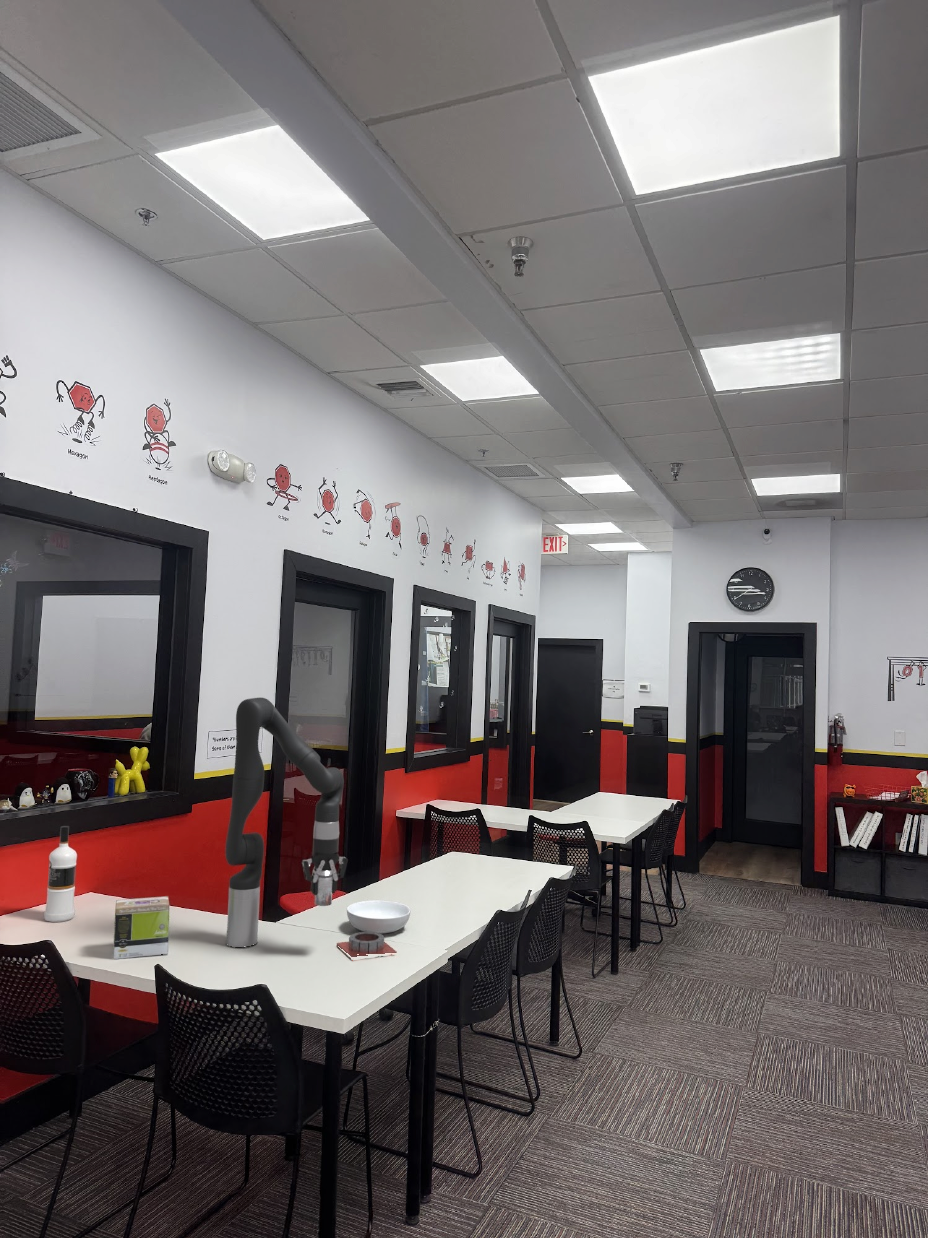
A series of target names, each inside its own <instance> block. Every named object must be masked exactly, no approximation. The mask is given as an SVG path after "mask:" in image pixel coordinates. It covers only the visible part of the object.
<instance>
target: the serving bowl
mask: <svg viewBox="0 0 928 1238" xmlns="http://www.w3.org/2000/svg"><path fill="white" fill-rule="evenodd" d="M346 914H347V915H346V916H347V919H348V920H349V922H350V924H351V926H353V927H354V928H356V929H357V930H359V931H361V932H375V933H379V934H382V935H384V934H387V933H393V932H396V931H399V930H400V929H402V928H403V927H405V926H406V924H407V923H408V921H409V919H410V916H411V908H410V907H409V906H408V905H406V904H404V903H401V902H396V901H391V900H379V899H378V900H377V899H376V900H375V899H374V900H363V901H359V902H354V903H351V904H350V905H348V906H347V908H346Z"/></svg>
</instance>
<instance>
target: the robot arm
mask: <svg viewBox="0 0 928 1238" xmlns="http://www.w3.org/2000/svg"><path fill="white" fill-rule="evenodd" d="M261 728H262V729H264V730H265V731H267V732H268V733H269V734H271V735H272V736H273V737H274V739H276V741H277V743H278V744H279V746H280V748H281V750H282V752H283V754H284V755H285V756H286V758H287V759H288V760H289V761H290V762H291V763H292V764H293V765H294V766H295V767H296V768H298V769H299V770H300V771H301V772H302V774H303V776H304V777H305V778H306V780H307V781H308V782H309V784H310V786H311V787H312V788H313V789H314V790H315V791H317V792H319V793H320V798H319V800H318V801H317V802H316V804H315V809H314V810H315V811H314V812H315V813H314V825H313V835H312V836H313V837H312V838H313V841H312V855H311V857H310V858H308V859H302V860H301V864H302V865H301V866H302V871H303V876H304V879H305V880H307V882H310V893H312V895H313V896H315V895H317V879H318V876H319V875H320V871H322V870H333V886H332V895H333V894H336V892H337V890H338V881H339V880H340V879H343V878H345V877H344V876H345V873H346V869H347V866H348V862H349V859H348V858H347V857H345V856H340V855H339V844H340V843H339V842H340V841H339V839H340V822H339V818H340V803H341V800H342V797H343V791H344V786H345V784H344V783H345V780H344V775H343V772H342V771H341V770H340V769H339V768H337V767H328V768H326V767H325V765H323V763H321V756H320V755H319V754H318V753H317V751H316V750H314V749H313V747H311V746H310V745H309V744H308V743H306V741H304V739H302V738H301V737H300V735H298V734H297V732H296V731H295V730H294V729H293V728H292V727H291V726H290V724H289V723H288V721H286V719H285V718H284V717H283V716H282V714H281V713H280V711H278V708H276V706H275V705H274V704H273V702H271V701H270V699H267V698H265V697H252V698H247V699H244V700H242V701H241V702H240V703H239V704H238V706H237V708H236V714H235V732H236V733H235V734H236V737H235V739H236V744H235V758H234V769H233V777H232V793H231V794H232V795H231V808H230V816H229V822H228V828H227V834H226V840H225V849H224V850H225V851H224V853H225V859H226V862H227V864H228V865H229V866H232V867H234V866H244V865H245V866H244V867H243V868H242V869H241V870H240V871H238V872H237V873H235V874H233V875H232V876H230V877H229V881H228V882H229V883H228V884H229V885H228V905H227V925H226V928H227V929H226V943H225V944H226V945H227V944H228V945H229V946H228V945H227V946H228V947H230V946H232V947H231V948H235V947H244V946H250V947H252V946H251V945H253V944H256V943H257V944H258V936H259V935H258V932H259V917H260V916H259V915H260V913H259V912H260V894H261V893H260V891H261V880H262V875H263V866H264V865H263V864H264V856H265V855H264V853H265V843H264V842H265V840H264V838H263V837H262V835H261V833H259V832H250V833H249V832H247V833H244V829H245V825H246V822H247V819H248V818H249V815H250V814H251V813H252V811H253V810H254V808H255V807H256V805H257V804H258V802H259V801H260V799H261V797H262V795H263V792H264V787H265V786H264V785H265V783H264V782H265V766H264V762H263V759H262V757H261V753H260V751H259V736H260V729H261ZM337 863H338V864H339V865H338V870H337V869H336V867H335V866H336V865H337ZM312 864H313V866H314V867H313V869H312V874H311V870H310V867H311V865H312ZM316 869H317V871H316ZM257 944H256V945H257Z"/></svg>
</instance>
